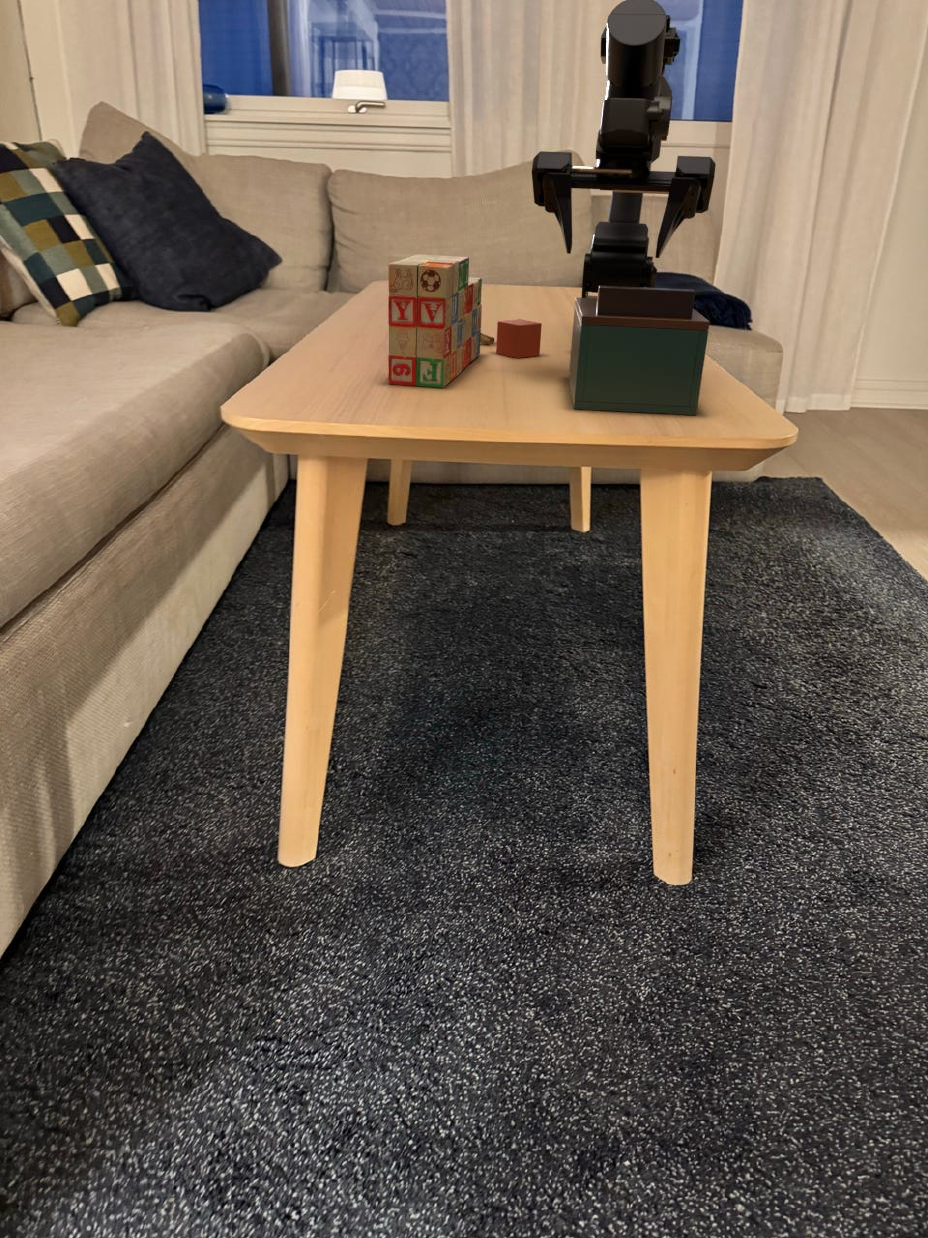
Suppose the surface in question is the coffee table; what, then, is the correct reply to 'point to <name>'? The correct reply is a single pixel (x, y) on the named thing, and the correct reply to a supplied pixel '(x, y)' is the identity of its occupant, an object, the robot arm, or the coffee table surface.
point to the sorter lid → (641, 308)
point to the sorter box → (636, 368)
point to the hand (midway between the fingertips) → (612, 253)
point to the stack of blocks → (432, 319)
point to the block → (518, 338)
